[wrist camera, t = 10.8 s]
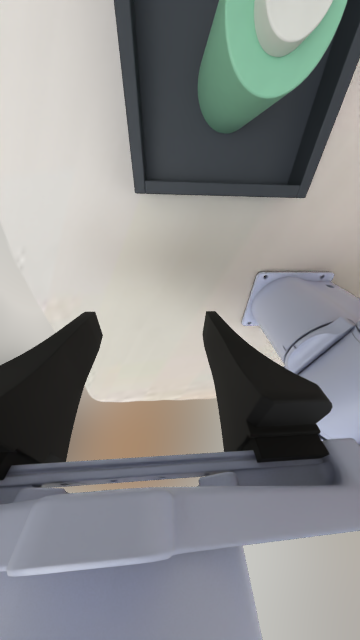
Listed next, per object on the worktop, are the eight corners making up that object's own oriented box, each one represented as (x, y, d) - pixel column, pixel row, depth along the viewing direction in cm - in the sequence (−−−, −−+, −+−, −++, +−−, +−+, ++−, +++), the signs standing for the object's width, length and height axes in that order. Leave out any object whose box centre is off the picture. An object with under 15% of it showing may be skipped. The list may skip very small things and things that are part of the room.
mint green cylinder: (274, 27, 10) (442, -213, 4) (253, 135, 13) (332, 92, 7) (200, 21, 10) (258, -247, 4) (194, 132, 13) (222, 84, 6)
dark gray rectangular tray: (384, -87, 9) (446, -164, 7) (288, 196, 16) (305, 198, 14) (107, -126, 8) (88, -227, 6) (139, 191, 15) (135, 193, 13)
